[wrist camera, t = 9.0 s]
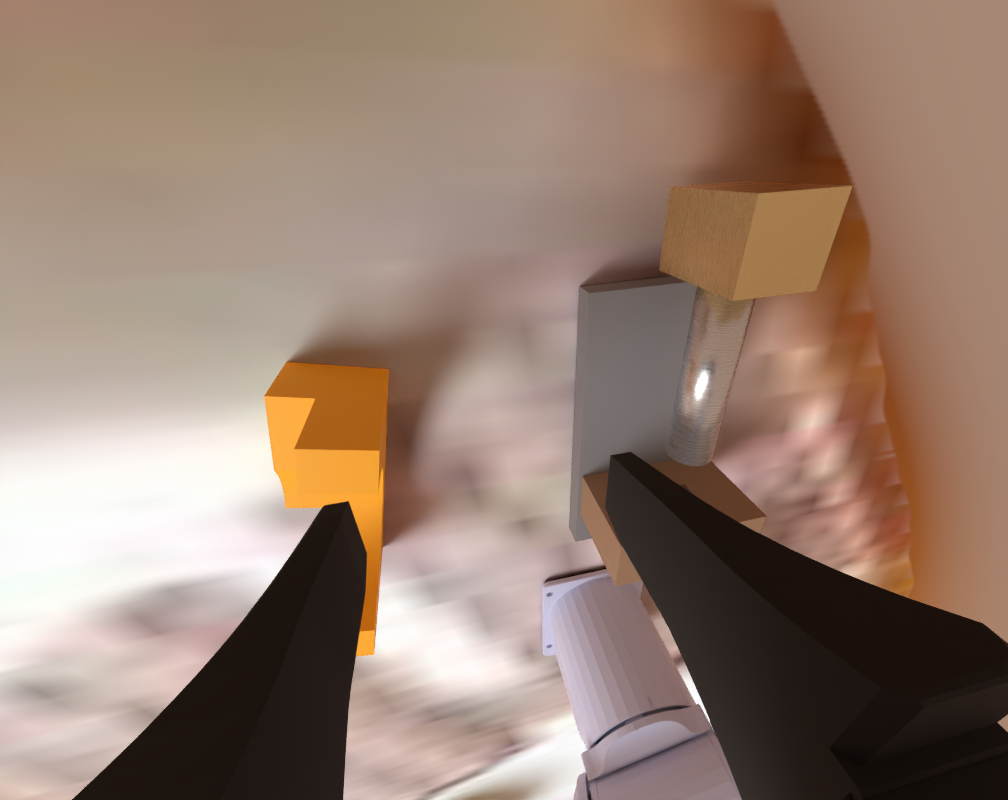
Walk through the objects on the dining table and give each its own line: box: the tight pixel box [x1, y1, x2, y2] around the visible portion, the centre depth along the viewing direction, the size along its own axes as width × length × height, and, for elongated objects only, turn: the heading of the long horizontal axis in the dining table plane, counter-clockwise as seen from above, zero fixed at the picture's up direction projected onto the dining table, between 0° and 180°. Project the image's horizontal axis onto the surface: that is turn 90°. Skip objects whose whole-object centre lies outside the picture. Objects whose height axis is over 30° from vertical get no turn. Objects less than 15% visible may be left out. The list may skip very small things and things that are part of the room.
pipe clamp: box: [264, 362, 389, 656], centre depth 18 cm, size 12×4×6 cm, turn 170°
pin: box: [659, 181, 852, 466], centre depth 16 cm, size 11×3×4 cm, turn 3°
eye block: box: [569, 276, 767, 587], centre depth 20 cm, size 16×8×6 cm, turn 3°
